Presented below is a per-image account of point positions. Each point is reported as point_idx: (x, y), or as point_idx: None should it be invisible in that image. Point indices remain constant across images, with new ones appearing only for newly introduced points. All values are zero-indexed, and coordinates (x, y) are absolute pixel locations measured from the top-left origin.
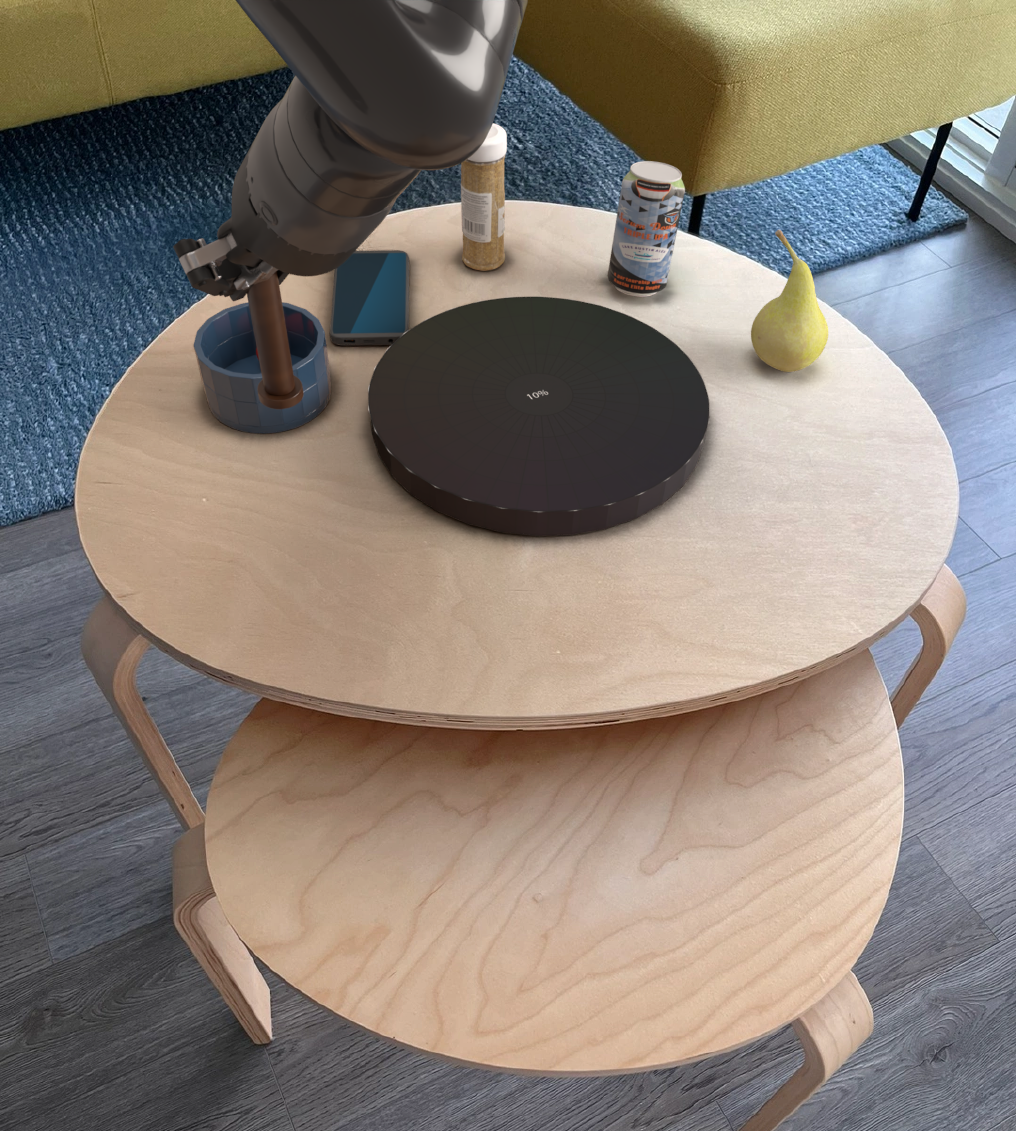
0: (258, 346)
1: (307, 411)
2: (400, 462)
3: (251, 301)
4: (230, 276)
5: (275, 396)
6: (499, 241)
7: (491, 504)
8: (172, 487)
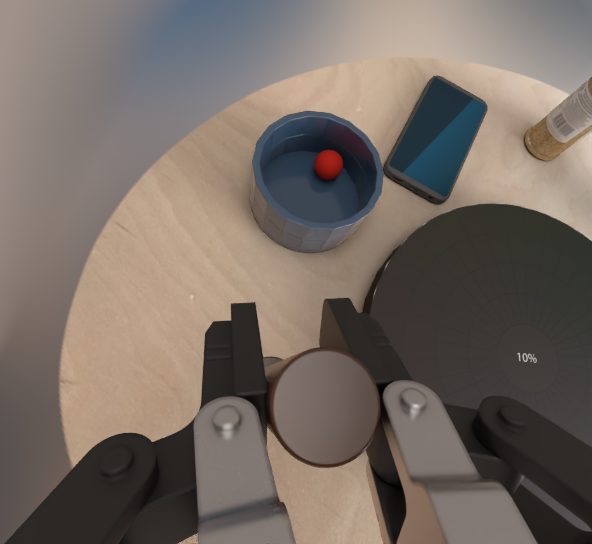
0: None
1: (324, 248)
2: None
3: None
4: (176, 539)
5: None
6: (570, 145)
7: None
8: (173, 265)
